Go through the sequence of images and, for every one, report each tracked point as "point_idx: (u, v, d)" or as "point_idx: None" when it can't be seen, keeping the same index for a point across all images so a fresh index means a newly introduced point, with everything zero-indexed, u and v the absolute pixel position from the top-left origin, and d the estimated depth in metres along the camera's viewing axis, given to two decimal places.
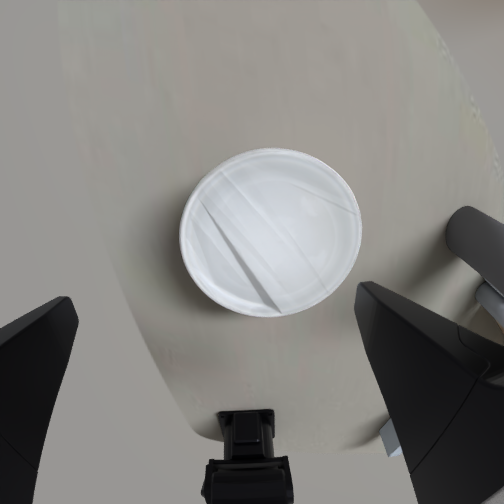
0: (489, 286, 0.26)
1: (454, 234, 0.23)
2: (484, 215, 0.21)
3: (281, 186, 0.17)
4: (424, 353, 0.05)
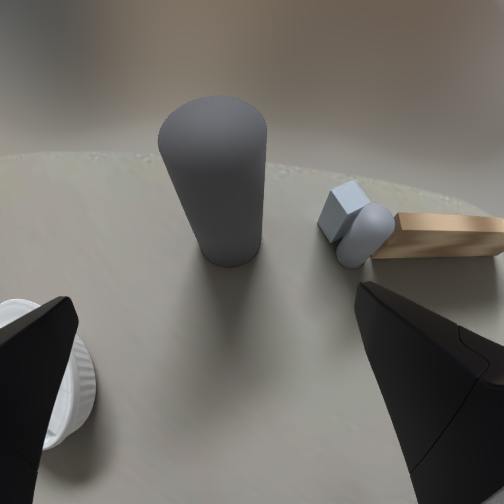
0: (342, 240, 0.23)
1: (203, 250, 0.22)
2: None
3: None
4: (424, 353, 0.05)
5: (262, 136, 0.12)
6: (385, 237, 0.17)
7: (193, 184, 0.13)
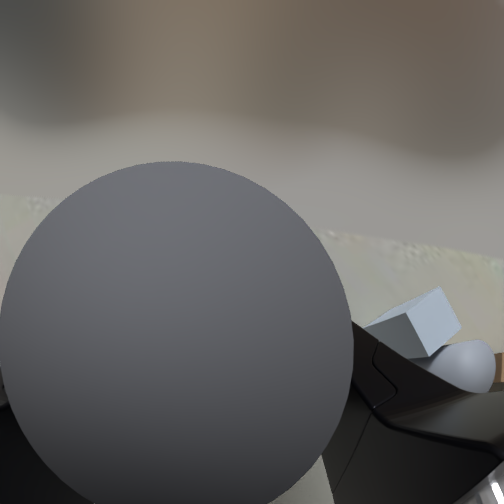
0: None
1: None
2: None
3: None
4: None
5: (337, 378, 0.03)
6: None
7: None
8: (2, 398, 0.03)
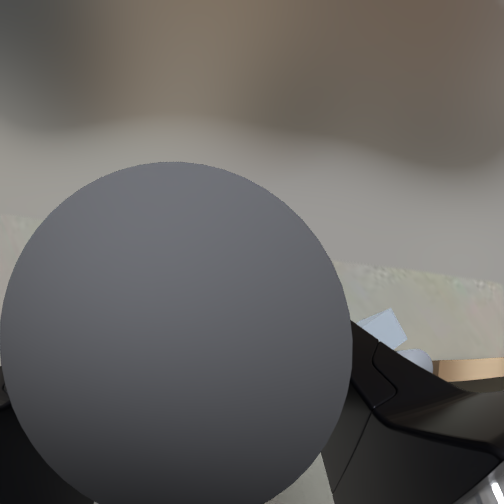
0: None
1: None
2: None
3: None
4: None
5: (336, 376, 0.03)
6: None
7: None
8: (2, 398, 0.03)
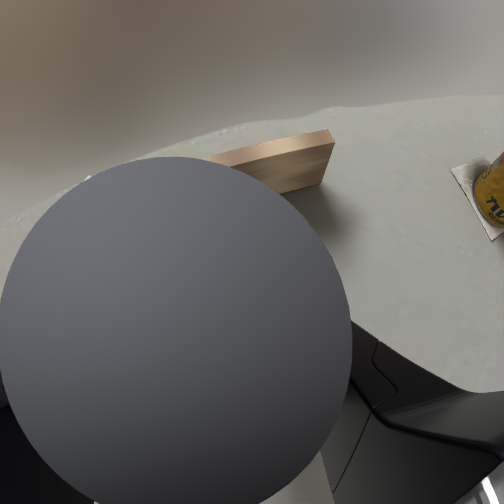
0: None
1: None
2: None
3: None
4: None
5: (336, 372, 0.03)
6: None
7: None
8: (2, 398, 0.03)
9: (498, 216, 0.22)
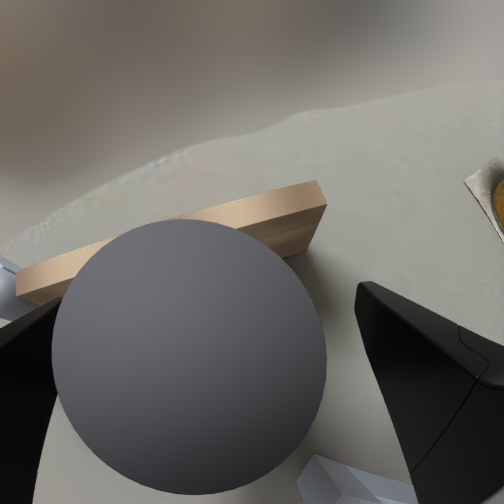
0: None
1: None
2: None
3: None
4: (424, 353, 0.05)
5: (314, 384, 0.04)
6: (4, 307, 0.11)
7: None
8: None
9: None
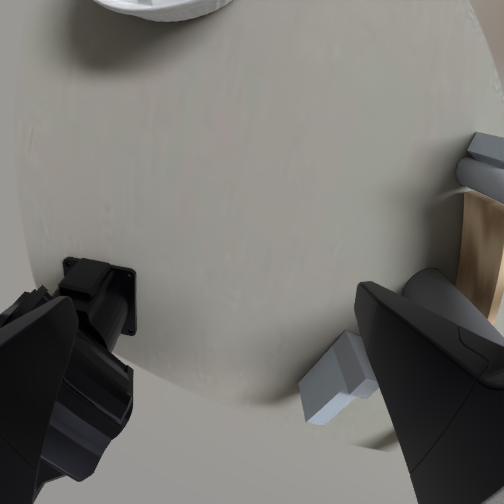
0: None
1: (421, 282, 0.23)
2: None
3: None
4: (424, 353, 0.05)
5: None
6: None
7: None
8: None
9: None
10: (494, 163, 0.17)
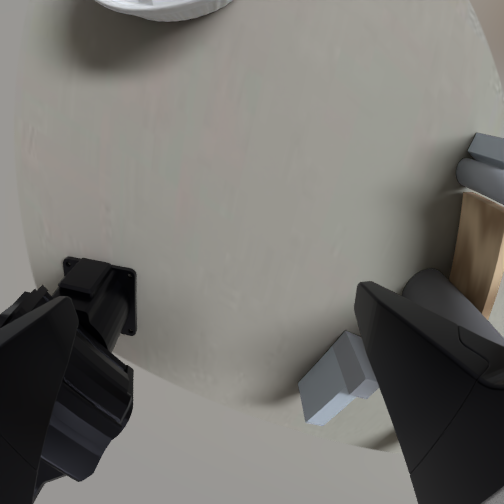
0: (475, 160, 0.19)
1: (421, 282, 0.23)
2: None
3: None
4: (424, 353, 0.05)
5: None
6: None
7: None
8: None
9: None
10: (494, 164, 0.17)
